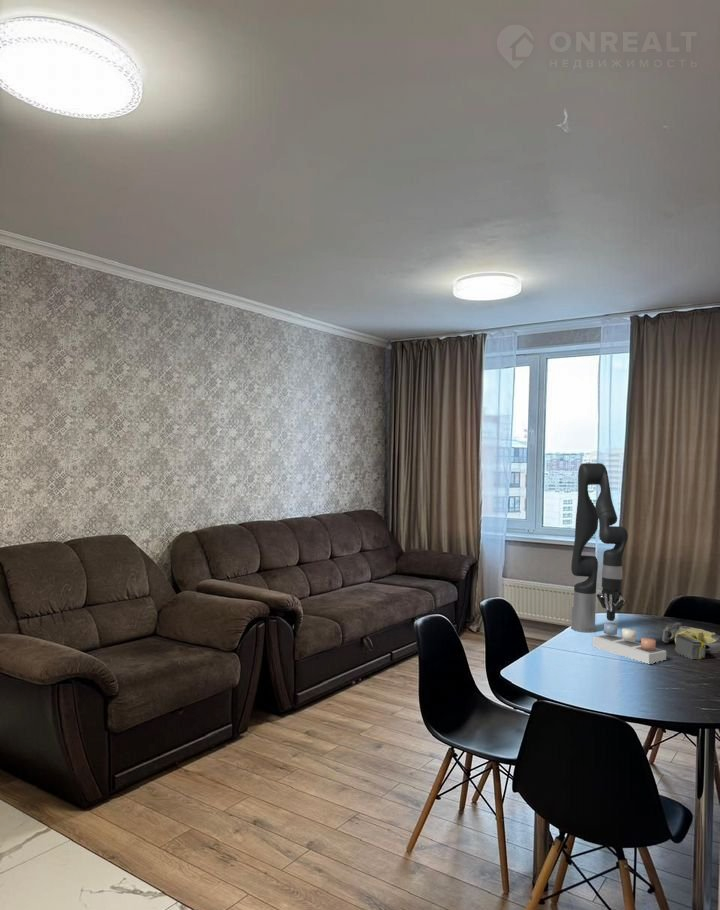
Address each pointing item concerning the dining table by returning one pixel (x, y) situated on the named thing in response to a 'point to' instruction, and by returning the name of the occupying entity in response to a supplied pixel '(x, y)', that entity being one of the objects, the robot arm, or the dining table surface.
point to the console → (627, 648)
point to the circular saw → (691, 640)
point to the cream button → (628, 634)
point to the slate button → (610, 628)
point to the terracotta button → (648, 644)
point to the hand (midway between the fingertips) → (610, 620)
